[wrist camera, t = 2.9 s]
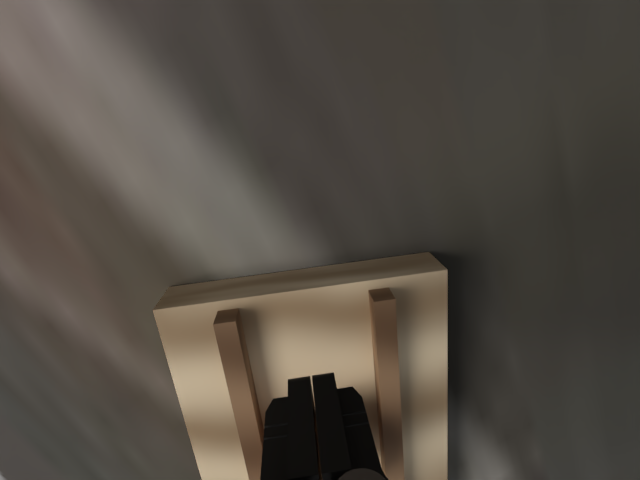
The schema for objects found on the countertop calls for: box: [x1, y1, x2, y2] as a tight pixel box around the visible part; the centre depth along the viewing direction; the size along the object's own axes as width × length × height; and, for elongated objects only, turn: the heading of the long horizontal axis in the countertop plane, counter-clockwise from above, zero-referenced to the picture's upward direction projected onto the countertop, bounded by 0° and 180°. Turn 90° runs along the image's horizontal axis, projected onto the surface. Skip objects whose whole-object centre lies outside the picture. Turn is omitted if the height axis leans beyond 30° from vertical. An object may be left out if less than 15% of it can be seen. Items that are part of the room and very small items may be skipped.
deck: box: [153, 252, 448, 480], centre depth 22 cm, size 24×14×4 cm, turn 6°
